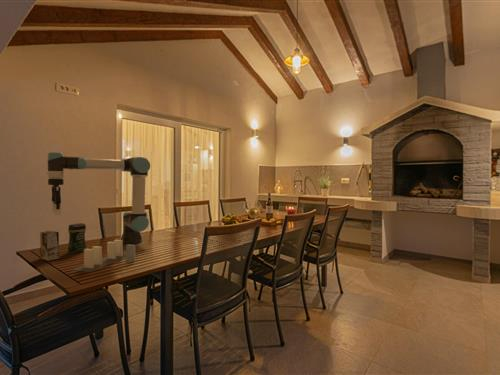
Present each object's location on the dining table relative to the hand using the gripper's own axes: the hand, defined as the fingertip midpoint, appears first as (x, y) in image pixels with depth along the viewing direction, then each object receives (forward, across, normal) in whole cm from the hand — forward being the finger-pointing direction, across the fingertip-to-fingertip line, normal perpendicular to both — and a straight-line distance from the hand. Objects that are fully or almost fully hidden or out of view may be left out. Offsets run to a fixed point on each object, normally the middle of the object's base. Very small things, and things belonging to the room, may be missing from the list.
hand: (56, 213), depth 158 cm
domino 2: (+27, +29, +16) cm, 42 cm away
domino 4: (+27, +20, +29) cm, 44 cm away
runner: (+27, +27, +19) cm, 43 cm away
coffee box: (+28, -2, -3) cm, 28 cm away
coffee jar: (+28, -9, +12) cm, 31 cm away
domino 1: (+27, +32, +11) cm, 43 cm away
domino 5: (+27, +35, +32) cm, 55 cm away
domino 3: (+27, +23, +25) cm, 43 cm away
